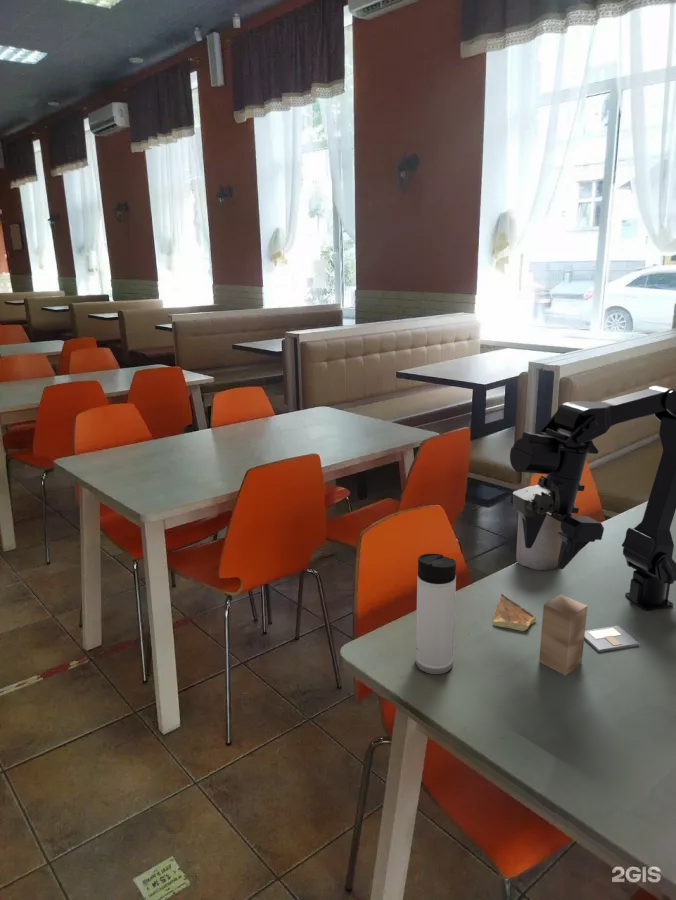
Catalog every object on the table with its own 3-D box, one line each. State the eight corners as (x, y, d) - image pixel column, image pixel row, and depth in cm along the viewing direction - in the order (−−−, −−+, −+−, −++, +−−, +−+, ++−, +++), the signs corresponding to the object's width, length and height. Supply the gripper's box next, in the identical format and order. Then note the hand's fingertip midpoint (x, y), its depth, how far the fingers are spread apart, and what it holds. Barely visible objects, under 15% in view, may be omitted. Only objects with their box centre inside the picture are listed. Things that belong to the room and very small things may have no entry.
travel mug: (406, 665, 113) (408, 557, 107) (430, 649, 117) (433, 545, 112) (436, 680, 109) (439, 569, 103) (460, 663, 113) (464, 556, 107)
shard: (500, 600, 134) (501, 592, 134) (540, 607, 132) (540, 599, 131) (491, 627, 125) (491, 618, 124) (533, 635, 122) (533, 626, 121)
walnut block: (555, 650, 116) (560, 594, 113) (581, 663, 113) (587, 605, 110) (539, 661, 113) (543, 604, 110) (565, 675, 110) (570, 616, 106)
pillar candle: (553, 551, 155) (557, 491, 150) (566, 570, 145) (570, 506, 141) (511, 552, 155) (514, 491, 151) (521, 571, 146) (524, 507, 141)
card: (617, 628, 123) (617, 625, 123) (638, 645, 117) (639, 642, 117) (578, 634, 121) (579, 631, 121) (598, 652, 116) (598, 649, 115)
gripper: (495, 457, 121) (477, 537, 125) (562, 489, 105) (539, 580, 108) (544, 461, 126) (526, 538, 129) (616, 493, 109) (592, 580, 112)
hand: (543, 557), depth 119 cm, fingers open, 9 cm apart
